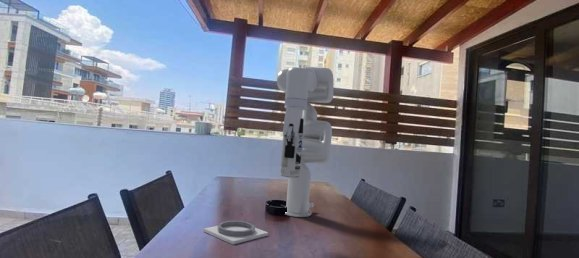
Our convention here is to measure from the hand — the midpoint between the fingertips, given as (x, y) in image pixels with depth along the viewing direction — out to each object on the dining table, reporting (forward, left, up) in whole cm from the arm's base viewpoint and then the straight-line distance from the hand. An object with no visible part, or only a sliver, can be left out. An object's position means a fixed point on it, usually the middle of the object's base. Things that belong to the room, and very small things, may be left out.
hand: (291, 156), depth 118 cm
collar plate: (+13, -10, -27) cm, 31 cm away
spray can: (0, 0, -7) cm, 7 cm away
